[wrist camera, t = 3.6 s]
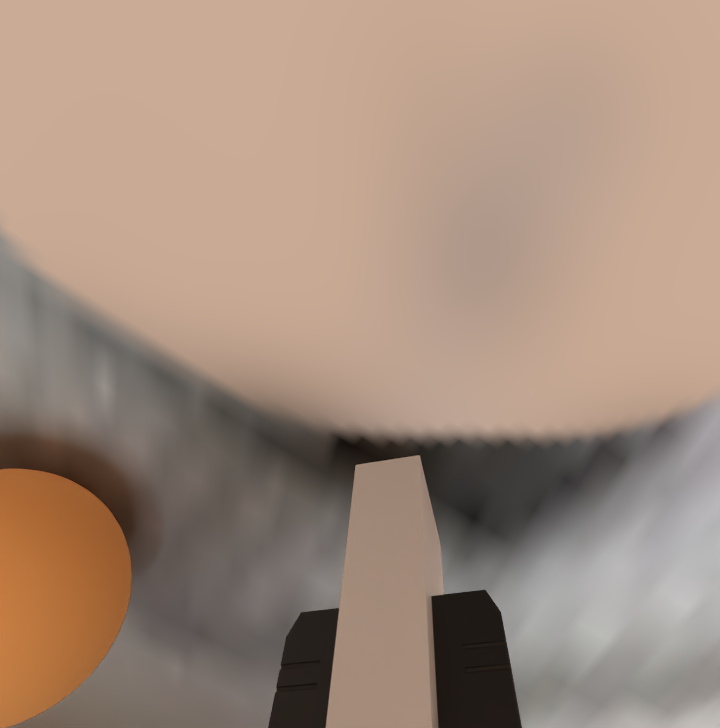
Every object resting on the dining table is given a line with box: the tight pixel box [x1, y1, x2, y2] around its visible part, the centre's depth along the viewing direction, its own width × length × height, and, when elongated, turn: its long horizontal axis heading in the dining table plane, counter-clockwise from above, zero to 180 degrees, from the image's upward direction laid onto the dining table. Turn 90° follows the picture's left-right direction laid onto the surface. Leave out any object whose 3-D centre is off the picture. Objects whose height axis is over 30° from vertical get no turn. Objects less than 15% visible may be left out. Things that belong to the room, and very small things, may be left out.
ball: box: [0, 469, 132, 728], centre depth 15 cm, size 6×6×6 cm
